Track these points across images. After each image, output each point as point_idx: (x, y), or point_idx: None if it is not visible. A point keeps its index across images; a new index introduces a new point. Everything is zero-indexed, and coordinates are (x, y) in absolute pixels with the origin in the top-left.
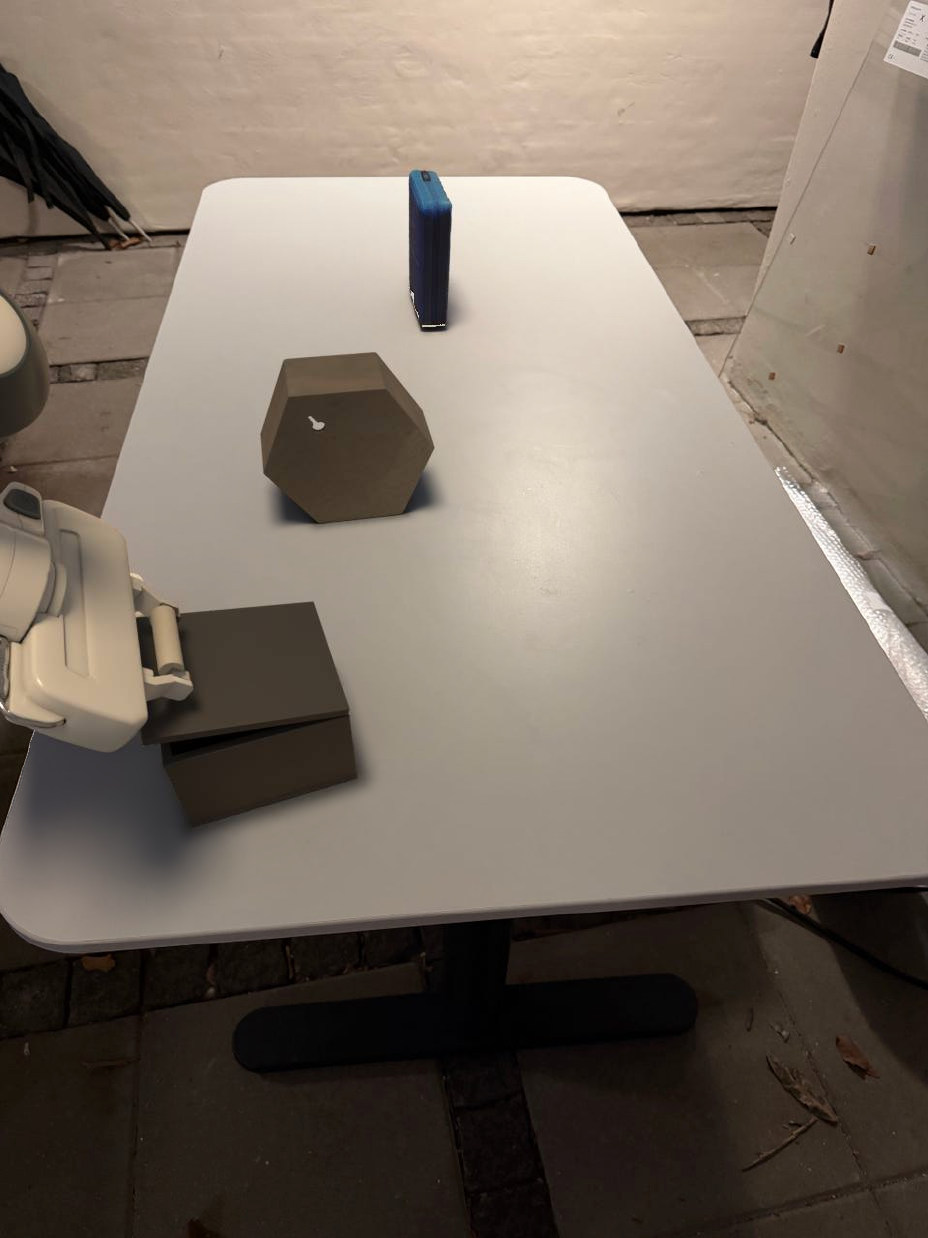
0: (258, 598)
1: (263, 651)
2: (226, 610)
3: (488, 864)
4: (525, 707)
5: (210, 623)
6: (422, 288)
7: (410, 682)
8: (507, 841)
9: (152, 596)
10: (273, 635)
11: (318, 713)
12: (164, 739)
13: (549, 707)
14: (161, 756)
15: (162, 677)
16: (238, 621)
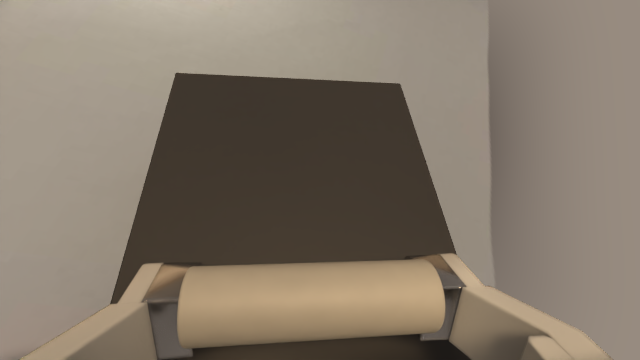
0: (28, 213)
1: (276, 152)
2: (147, 192)
3: (458, 95)
4: (322, 20)
5: (175, 226)
6: None
7: None
8: (441, 76)
9: (111, 329)
10: (241, 133)
11: (409, 113)
12: None
13: (328, 6)
14: None
15: (513, 311)
16: (186, 177)
